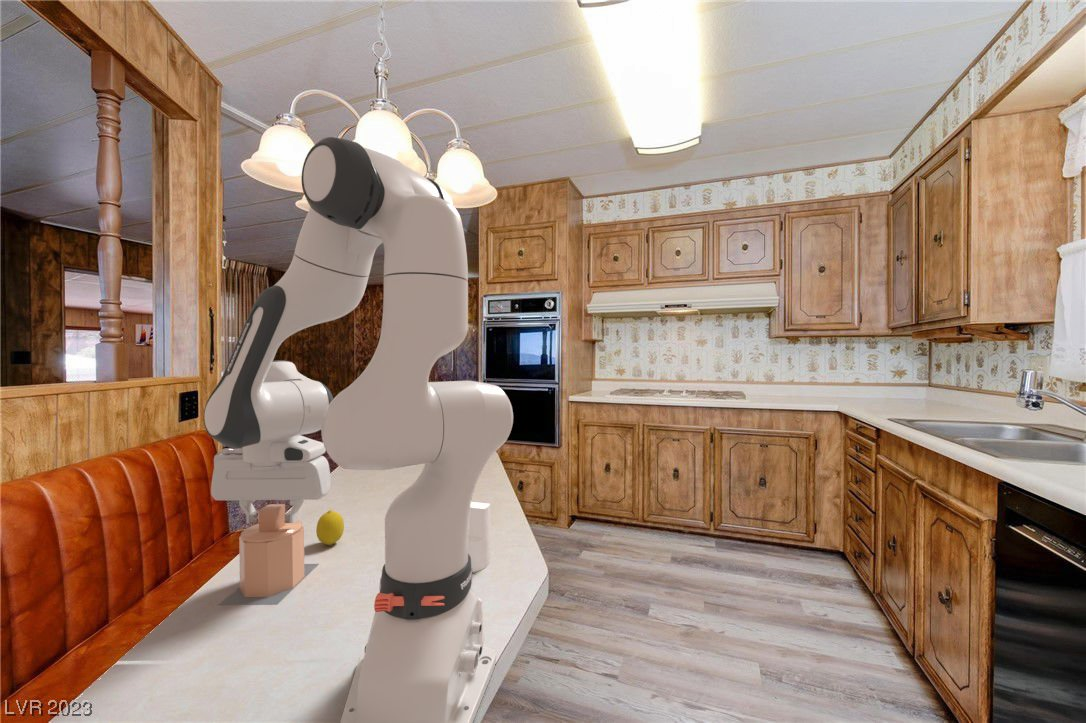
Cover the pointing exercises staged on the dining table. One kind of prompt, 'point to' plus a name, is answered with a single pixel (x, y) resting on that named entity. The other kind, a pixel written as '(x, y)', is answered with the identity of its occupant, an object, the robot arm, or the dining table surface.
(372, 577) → the dining table surface
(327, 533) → the lemon
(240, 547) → the cloche
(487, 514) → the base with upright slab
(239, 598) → the mat
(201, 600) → the dining table surface
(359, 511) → the dining table surface
